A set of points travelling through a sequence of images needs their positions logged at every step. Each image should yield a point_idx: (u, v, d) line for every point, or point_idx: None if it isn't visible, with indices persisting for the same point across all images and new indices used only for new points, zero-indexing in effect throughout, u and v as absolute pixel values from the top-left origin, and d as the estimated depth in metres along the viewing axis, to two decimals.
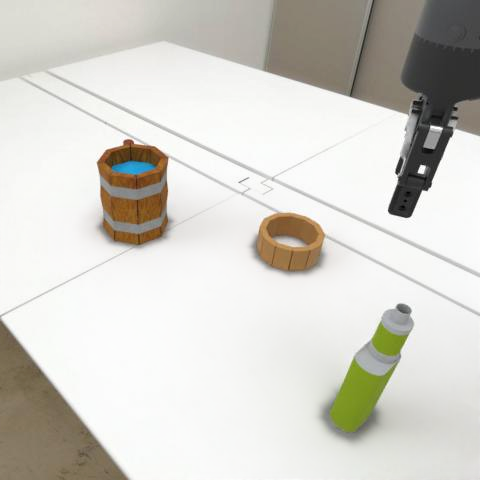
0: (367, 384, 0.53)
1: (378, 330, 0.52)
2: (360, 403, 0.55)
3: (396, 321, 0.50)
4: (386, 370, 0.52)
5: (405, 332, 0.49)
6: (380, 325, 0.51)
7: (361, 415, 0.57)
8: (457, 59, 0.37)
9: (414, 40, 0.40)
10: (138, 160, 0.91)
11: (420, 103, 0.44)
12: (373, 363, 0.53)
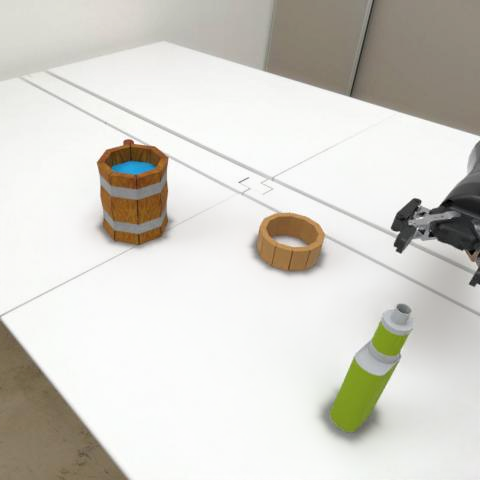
0: (367, 384, 0.53)
1: (378, 330, 0.52)
2: (360, 403, 0.55)
3: (396, 321, 0.50)
4: (386, 370, 0.52)
5: (405, 332, 0.49)
6: (380, 325, 0.51)
7: (361, 415, 0.57)
8: None
9: None
10: (138, 160, 0.91)
11: None
12: (373, 363, 0.53)
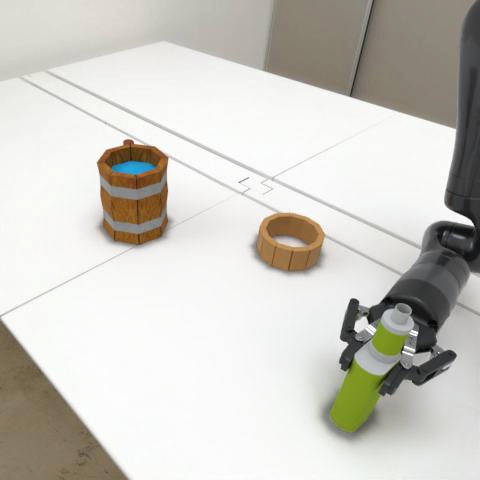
0: (367, 384, 0.53)
1: (378, 330, 0.52)
2: (360, 403, 0.55)
3: (396, 321, 0.50)
4: (386, 370, 0.52)
5: (405, 332, 0.49)
6: (380, 325, 0.51)
7: (361, 415, 0.57)
8: None
9: None
10: (138, 160, 0.91)
11: None
12: (373, 362, 0.53)
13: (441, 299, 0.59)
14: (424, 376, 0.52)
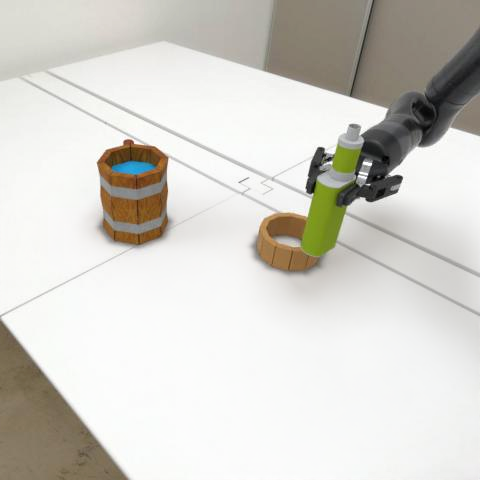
0: (327, 199, 0.63)
1: (335, 151, 0.62)
2: (323, 222, 0.66)
3: (349, 138, 0.60)
4: (342, 185, 0.62)
5: (356, 145, 0.60)
6: (337, 146, 0.62)
7: (325, 236, 0.67)
8: None
9: None
10: (138, 160, 0.91)
11: None
12: (332, 181, 0.63)
13: (393, 141, 0.69)
14: (374, 191, 0.63)
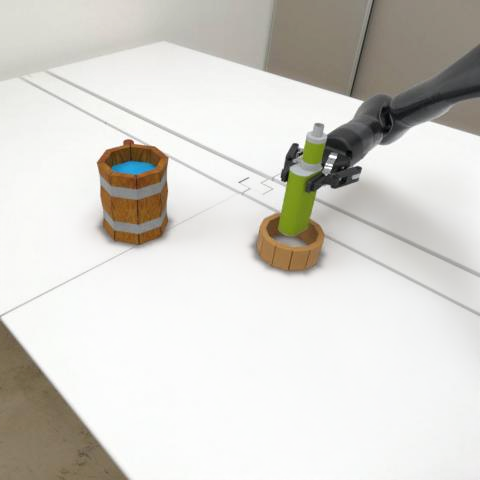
0: (298, 186, 0.76)
1: (304, 146, 0.75)
2: (295, 206, 0.78)
3: (314, 134, 0.73)
4: (310, 174, 0.75)
5: (320, 140, 0.72)
6: (305, 141, 0.74)
7: (297, 218, 0.80)
8: None
9: None
10: (138, 160, 0.91)
11: None
12: (302, 171, 0.76)
13: (356, 138, 0.81)
14: (337, 179, 0.75)
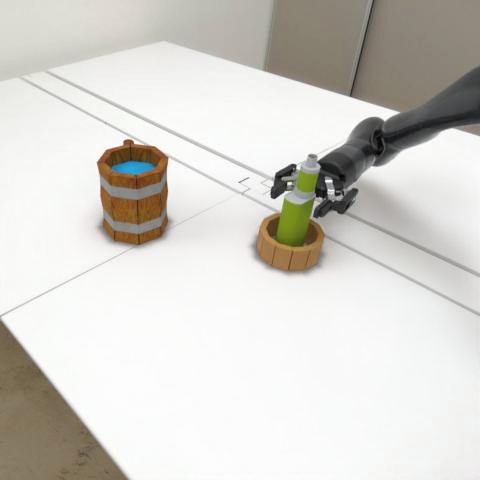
0: (292, 213, 0.79)
1: (299, 175, 0.78)
2: (289, 231, 0.82)
3: (308, 165, 0.76)
4: (304, 202, 0.78)
5: (313, 171, 0.76)
6: None
7: (292, 242, 0.83)
8: None
9: None
10: (138, 160, 0.91)
11: None
12: (296, 199, 0.79)
13: (349, 162, 0.84)
14: (344, 205, 0.78)
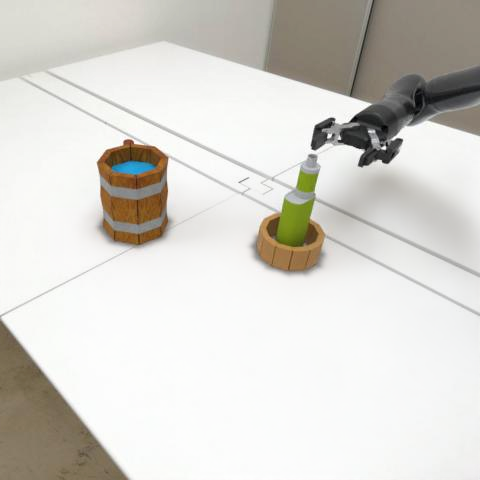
0: (292, 213, 0.79)
1: (299, 175, 0.78)
2: (289, 231, 0.82)
3: (308, 165, 0.76)
4: (304, 202, 0.78)
5: (313, 171, 0.76)
6: None
7: (292, 242, 0.83)
8: None
9: None
10: (138, 160, 0.91)
11: None
12: (296, 199, 0.79)
13: (391, 114, 0.82)
14: (390, 153, 0.75)
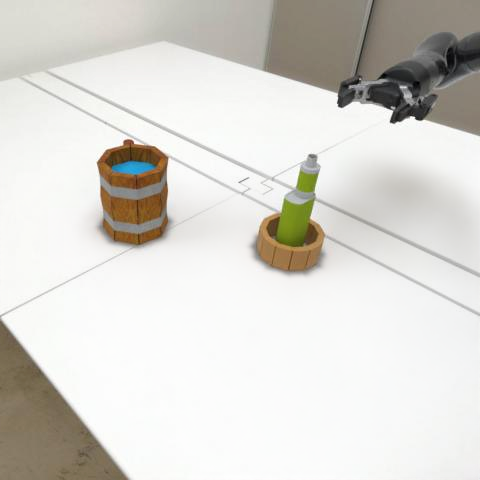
0: (292, 213, 0.79)
1: (299, 175, 0.78)
2: (289, 231, 0.82)
3: (308, 165, 0.76)
4: (304, 202, 0.78)
5: (313, 171, 0.76)
6: None
7: (292, 242, 0.83)
8: None
9: None
10: (138, 160, 0.91)
11: None
12: (296, 199, 0.79)
13: (423, 70, 0.76)
14: (424, 109, 0.69)
